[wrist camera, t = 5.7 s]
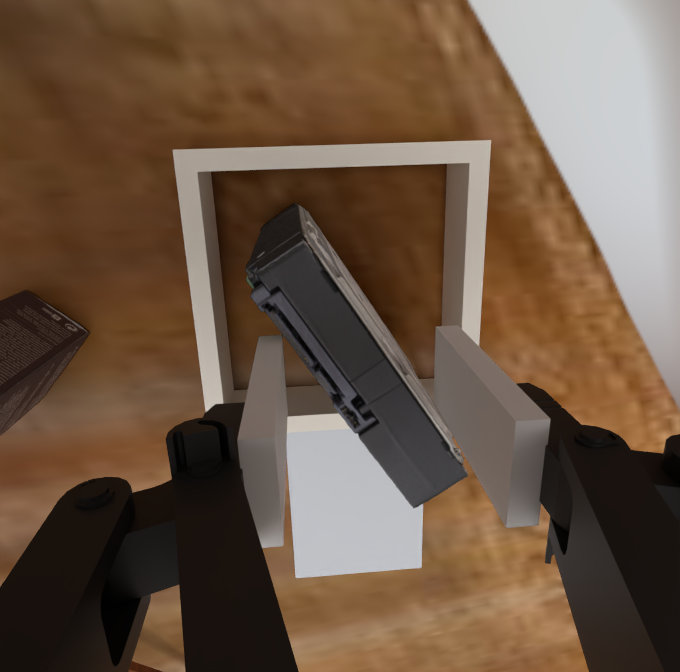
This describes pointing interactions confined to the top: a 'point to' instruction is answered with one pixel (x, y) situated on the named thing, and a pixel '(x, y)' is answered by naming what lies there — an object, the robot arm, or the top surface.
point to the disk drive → (352, 355)
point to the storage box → (196, 165)
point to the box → (32, 352)
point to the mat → (347, 508)
